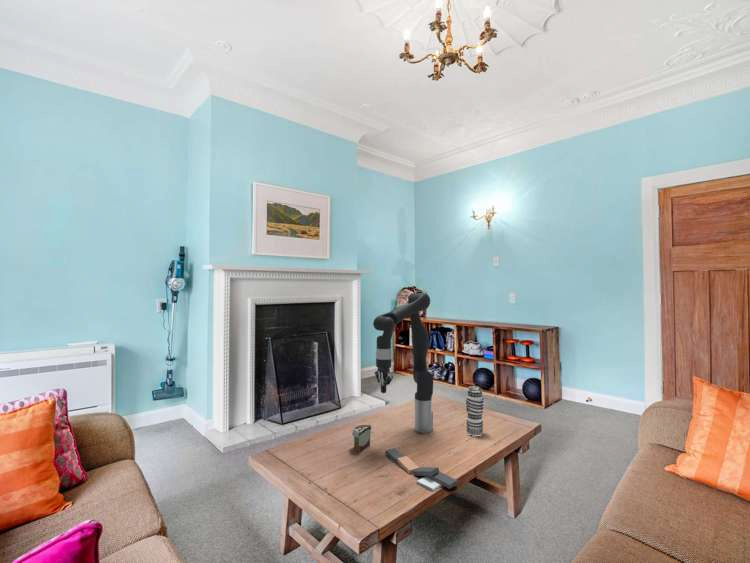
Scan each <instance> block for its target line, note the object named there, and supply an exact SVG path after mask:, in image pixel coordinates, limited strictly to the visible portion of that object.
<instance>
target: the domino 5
mask: <svg viewBox="0 0 750 563" xmlns="http://www.w3.org/2000/svg"><path fill="white" fill-rule="evenodd" d="M430 479H432V480H433V481H435V482H437V483H439V484H441V485H443V487H445V488H447V489H449V490H450V489H452V488H454V487H456V486H457V485H458V480H457V479H456V478H453V477H452V476H450V475H448V474H446V473H443V472H442V471H440V470H439V472H438V473H436V474H434V475H432V476H430Z"/></svg>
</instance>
